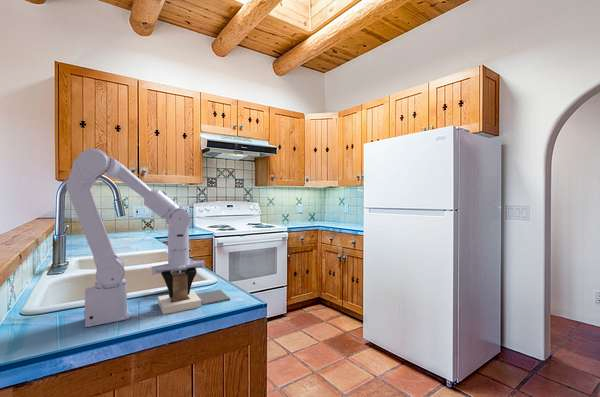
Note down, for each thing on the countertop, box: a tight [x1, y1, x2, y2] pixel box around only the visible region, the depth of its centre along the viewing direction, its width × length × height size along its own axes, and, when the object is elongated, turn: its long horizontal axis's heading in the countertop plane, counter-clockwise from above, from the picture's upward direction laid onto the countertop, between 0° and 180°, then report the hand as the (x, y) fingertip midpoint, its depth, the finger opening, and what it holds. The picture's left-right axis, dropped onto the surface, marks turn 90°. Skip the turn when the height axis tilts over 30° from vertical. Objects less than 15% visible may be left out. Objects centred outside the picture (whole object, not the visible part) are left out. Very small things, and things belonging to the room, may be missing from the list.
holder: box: [157, 290, 202, 315], centre depth 90 cm, size 10×10×2 cm
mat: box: [196, 289, 231, 306], centre depth 96 cm, size 8×10×1 cm
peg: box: [171, 272, 188, 303], centre depth 90 cm, size 4×4×9 cm
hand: (179, 295), depth 90 cm, fingers closed on peg, 4 cm apart
